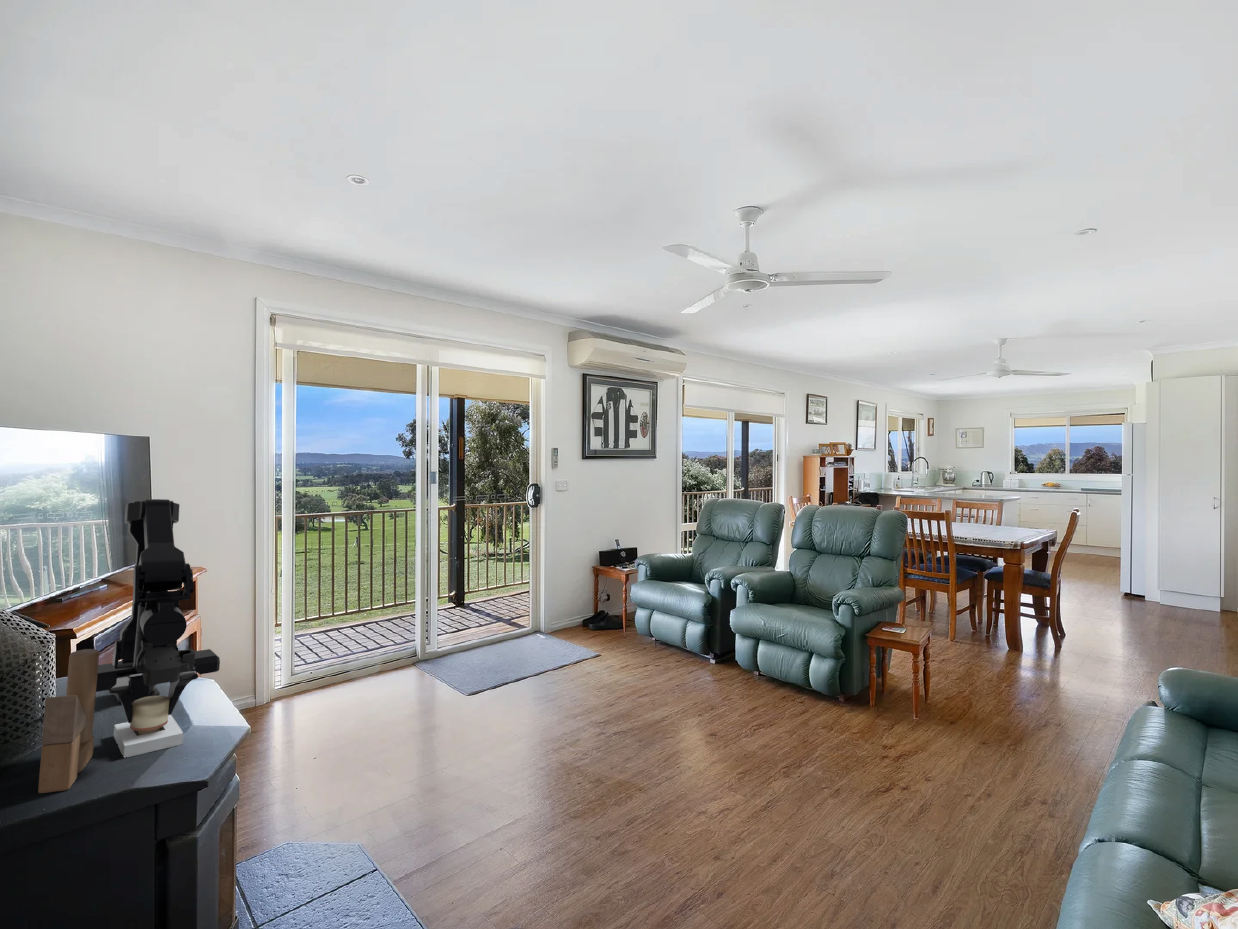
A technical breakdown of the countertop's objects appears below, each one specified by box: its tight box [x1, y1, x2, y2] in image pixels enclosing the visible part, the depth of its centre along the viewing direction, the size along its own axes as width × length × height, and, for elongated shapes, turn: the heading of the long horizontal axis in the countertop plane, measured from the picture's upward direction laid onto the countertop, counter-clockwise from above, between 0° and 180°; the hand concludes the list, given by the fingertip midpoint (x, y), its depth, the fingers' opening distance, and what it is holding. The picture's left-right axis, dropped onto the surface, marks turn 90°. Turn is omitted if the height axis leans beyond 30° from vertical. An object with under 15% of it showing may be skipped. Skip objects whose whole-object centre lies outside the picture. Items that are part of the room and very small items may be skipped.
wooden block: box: [37, 648, 100, 794], centre depth 93 cm, size 4×11×18 cm, turn 27°
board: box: [113, 714, 184, 759], centre depth 105 cm, size 10×8×2 cm
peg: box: [130, 695, 170, 736], centre depth 105 cm, size 5×5×6 cm
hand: (149, 718), depth 105 cm, fingers closed on peg, 5 cm apart
